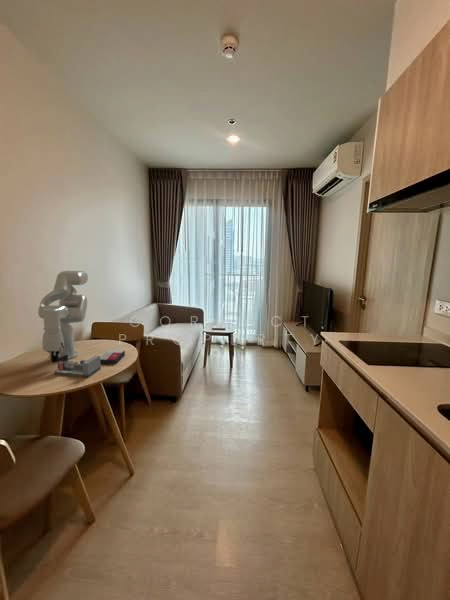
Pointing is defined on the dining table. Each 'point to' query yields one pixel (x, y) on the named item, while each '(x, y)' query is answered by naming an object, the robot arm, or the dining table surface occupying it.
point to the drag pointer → (60, 366)
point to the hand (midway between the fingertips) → (55, 361)
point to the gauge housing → (82, 368)
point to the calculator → (112, 357)
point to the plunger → (65, 361)
